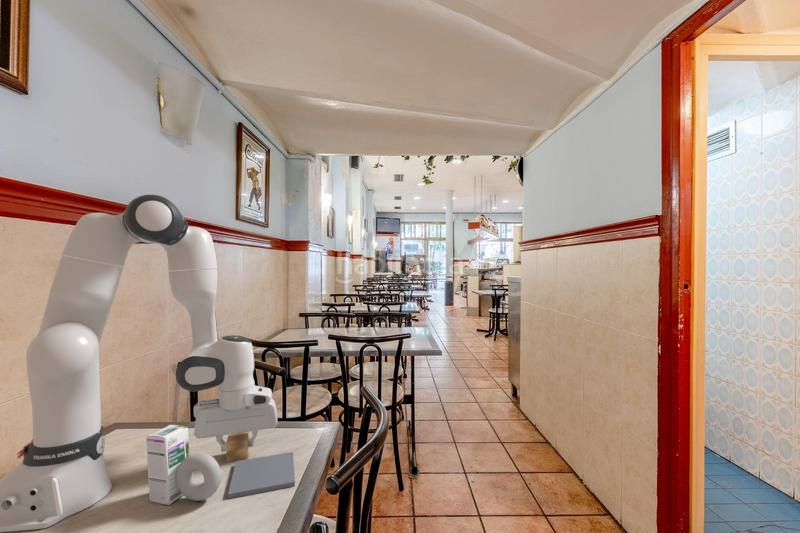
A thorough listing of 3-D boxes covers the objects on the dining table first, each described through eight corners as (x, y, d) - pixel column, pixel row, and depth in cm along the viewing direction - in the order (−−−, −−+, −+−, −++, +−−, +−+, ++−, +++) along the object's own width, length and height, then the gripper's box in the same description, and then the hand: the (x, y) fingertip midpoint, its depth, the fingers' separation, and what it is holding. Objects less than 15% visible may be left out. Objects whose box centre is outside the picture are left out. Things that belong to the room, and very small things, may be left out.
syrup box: (168, 506, 78) (166, 437, 78) (148, 501, 79) (145, 434, 79) (191, 490, 83) (189, 426, 83) (171, 486, 85) (169, 423, 85)
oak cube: (226, 462, 95) (226, 442, 95) (229, 452, 100) (228, 434, 100) (247, 458, 96) (246, 439, 96) (249, 449, 101) (248, 431, 101)
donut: (225, 496, 81) (224, 451, 81) (215, 506, 77) (215, 459, 77) (183, 492, 82) (183, 448, 82) (172, 502, 79) (171, 456, 79)
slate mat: (228, 498, 80) (227, 494, 80) (235, 465, 93) (235, 461, 93) (294, 486, 84) (294, 481, 84) (293, 455, 98) (293, 451, 98)
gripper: (190, 406, 92) (191, 461, 92) (276, 396, 98) (277, 447, 98) (196, 397, 98) (197, 449, 98) (276, 388, 104) (277, 436, 104)
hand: (238, 448), depth 98 cm, fingers closed on oak cube, 5 cm apart
